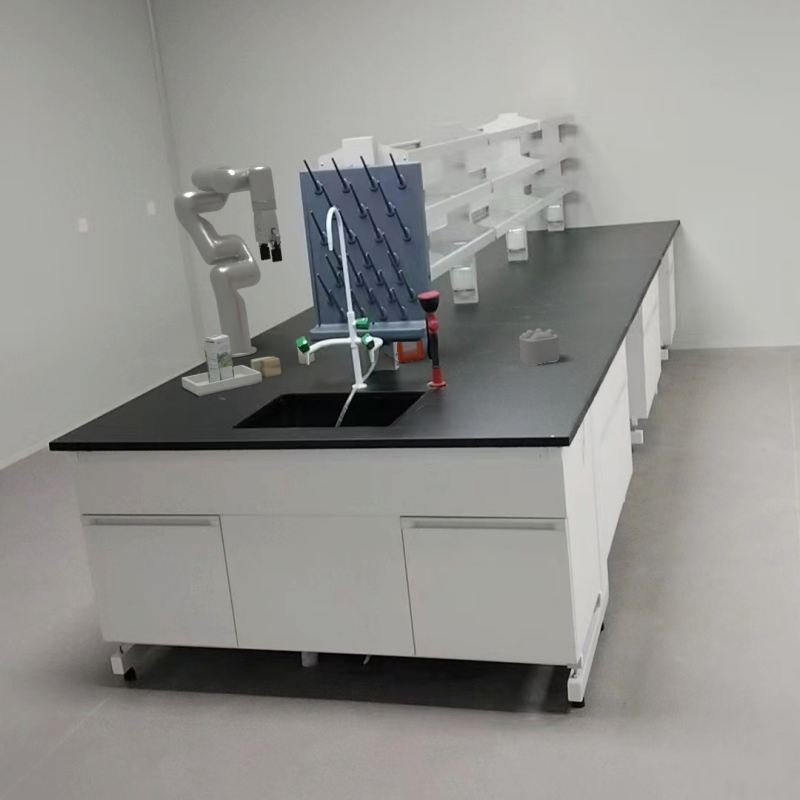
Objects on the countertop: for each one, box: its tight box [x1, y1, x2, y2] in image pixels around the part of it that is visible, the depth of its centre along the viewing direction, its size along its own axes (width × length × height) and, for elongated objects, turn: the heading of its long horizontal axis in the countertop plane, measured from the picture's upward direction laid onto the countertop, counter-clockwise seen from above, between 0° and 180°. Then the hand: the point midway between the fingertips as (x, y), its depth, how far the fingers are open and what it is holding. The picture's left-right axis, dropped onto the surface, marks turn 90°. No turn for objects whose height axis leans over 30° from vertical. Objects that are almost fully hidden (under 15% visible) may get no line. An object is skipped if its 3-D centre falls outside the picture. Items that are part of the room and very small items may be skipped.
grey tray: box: [181, 364, 263, 397], centre depth 314 cm, size 16×20×3 cm
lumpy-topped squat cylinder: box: [518, 327, 561, 365], centre depth 302 cm, size 10×13×9 cm
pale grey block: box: [296, 346, 316, 365], centre depth 333 cm, size 5×5×6 cm
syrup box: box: [202, 333, 235, 383], centre depth 312 cm, size 6×6×14 cm
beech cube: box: [258, 355, 282, 378], centre depth 321 cm, size 5×5×5 cm
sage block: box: [250, 356, 270, 372], centre depth 327 cm, size 4×6×4 cm, turn 110°
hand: (271, 260), depth 328 cm, fingers open, 9 cm apart
